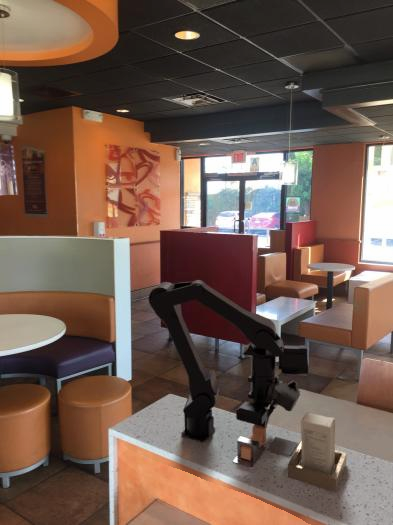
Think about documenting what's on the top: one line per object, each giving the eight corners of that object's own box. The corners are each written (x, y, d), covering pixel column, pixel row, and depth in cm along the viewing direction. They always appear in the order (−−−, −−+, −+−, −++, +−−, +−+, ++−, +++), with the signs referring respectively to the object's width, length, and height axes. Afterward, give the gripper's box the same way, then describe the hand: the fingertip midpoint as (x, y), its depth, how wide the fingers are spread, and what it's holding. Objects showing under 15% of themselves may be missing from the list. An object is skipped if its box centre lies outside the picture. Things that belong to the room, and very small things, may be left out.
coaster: (267, 450, 104) (267, 448, 103) (275, 438, 108) (275, 436, 108) (290, 456, 101) (290, 455, 101) (297, 444, 106) (297, 442, 105)
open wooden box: (287, 477, 94) (287, 464, 93) (301, 452, 102) (301, 440, 102) (335, 492, 89) (336, 479, 88) (346, 465, 97) (346, 452, 97)
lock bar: (239, 457, 100) (239, 442, 100) (254, 437, 108) (254, 424, 107) (251, 460, 99) (251, 446, 98) (266, 441, 106) (266, 427, 106)
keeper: (232, 462, 99) (232, 445, 99) (248, 442, 107) (249, 426, 106) (252, 468, 97) (252, 451, 96) (267, 447, 105) (267, 431, 104)
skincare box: (335, 470, 96) (337, 417, 94) (329, 481, 92) (331, 427, 90) (305, 461, 99) (306, 410, 97) (299, 472, 95) (300, 419, 93)
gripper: (283, 395, 94) (282, 463, 96) (307, 364, 110) (306, 422, 112) (235, 385, 99) (235, 448, 102) (264, 356, 115) (264, 412, 118)
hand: (262, 432), depth 108 cm, fingers closed
